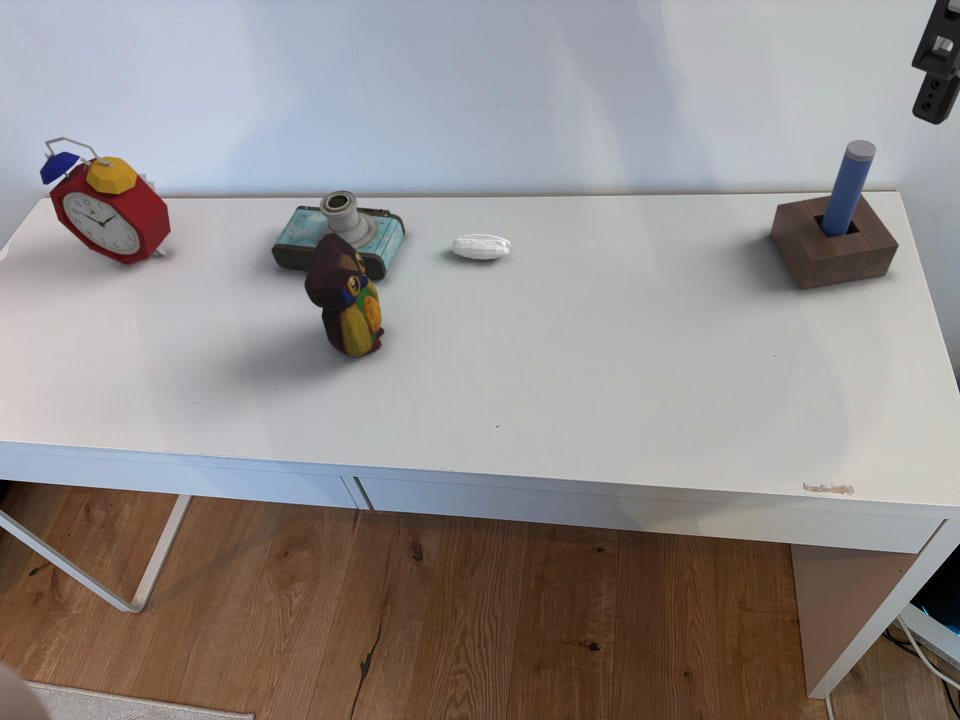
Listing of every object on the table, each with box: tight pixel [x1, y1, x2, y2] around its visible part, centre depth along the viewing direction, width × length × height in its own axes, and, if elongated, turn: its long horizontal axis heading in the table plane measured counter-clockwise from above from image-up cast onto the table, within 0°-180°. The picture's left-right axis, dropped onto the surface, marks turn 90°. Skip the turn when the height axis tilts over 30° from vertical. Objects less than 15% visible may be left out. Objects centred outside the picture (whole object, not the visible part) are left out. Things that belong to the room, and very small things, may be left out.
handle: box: [820, 139, 877, 238], centre depth 86 cm, size 3×3×16 cm
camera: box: [270, 190, 406, 280], centre depth 100 cm, size 16×10×10 cm
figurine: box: [303, 232, 385, 358], centre depth 86 cm, size 10×7×15 cm
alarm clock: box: [39, 136, 172, 265], centre depth 102 cm, size 15×9×20 cm, turn 72°
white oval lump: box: [451, 233, 512, 261], centre depth 99 cm, size 3×8×3 cm, turn 79°
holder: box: [769, 193, 900, 290], centre depth 90 cm, size 10×10×5 cm
